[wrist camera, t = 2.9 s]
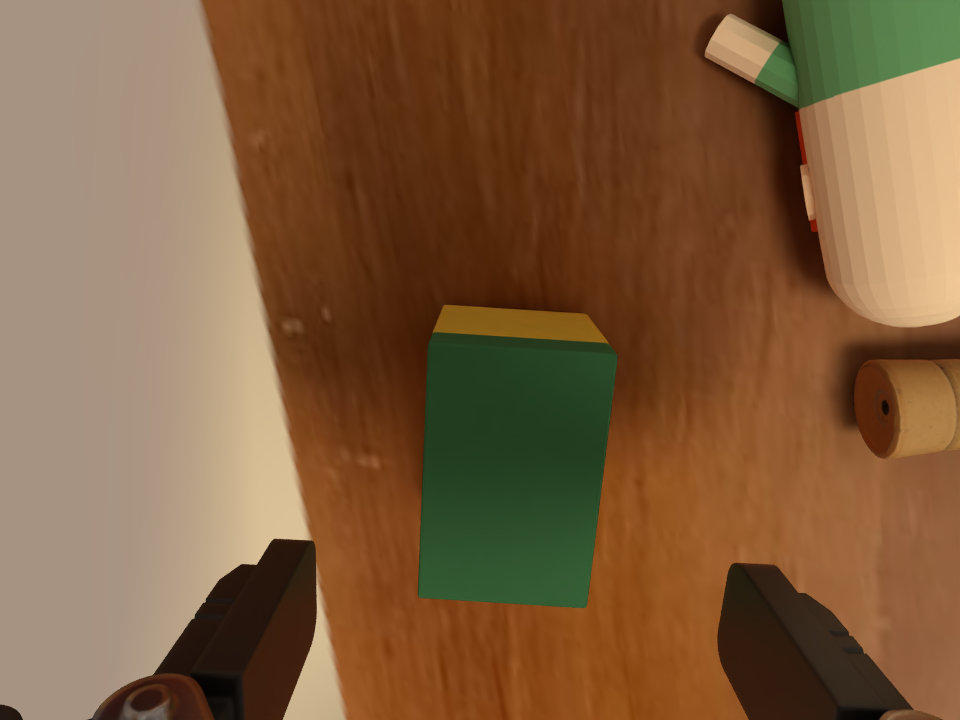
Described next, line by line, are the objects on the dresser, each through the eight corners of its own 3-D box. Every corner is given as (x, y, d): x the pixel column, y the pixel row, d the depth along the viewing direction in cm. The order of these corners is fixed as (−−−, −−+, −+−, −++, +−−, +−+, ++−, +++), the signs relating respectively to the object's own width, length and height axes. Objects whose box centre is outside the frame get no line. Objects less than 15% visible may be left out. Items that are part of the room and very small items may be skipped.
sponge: (443, 304, 20) (427, 342, 15) (587, 313, 20) (618, 354, 15) (433, 506, 21) (417, 599, 17) (565, 514, 21) (587, 609, 17)
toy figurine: (693, -62, 19) (761, 326, 21) (662, -116, 15) (751, 366, 17) (1056, -227, 15) (1092, 277, 17) (1144, -360, 11) (1174, 316, 13)
